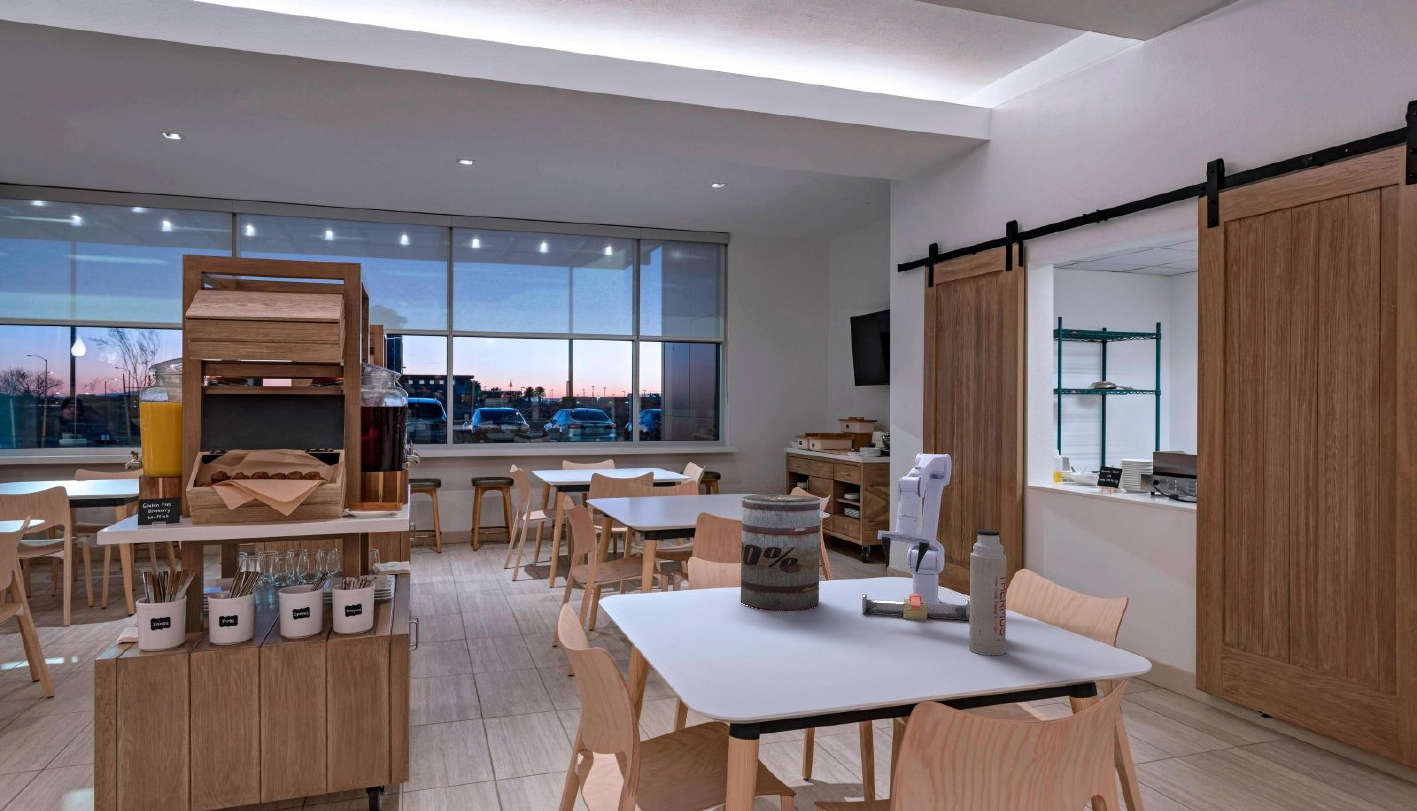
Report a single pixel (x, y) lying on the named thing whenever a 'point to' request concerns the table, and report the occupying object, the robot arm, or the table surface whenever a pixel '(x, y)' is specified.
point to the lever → (915, 601)
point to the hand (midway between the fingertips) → (901, 569)
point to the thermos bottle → (987, 595)
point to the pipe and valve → (921, 614)
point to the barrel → (780, 552)
